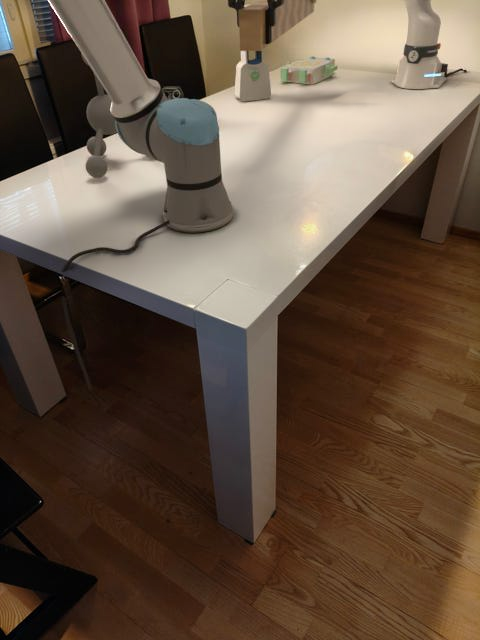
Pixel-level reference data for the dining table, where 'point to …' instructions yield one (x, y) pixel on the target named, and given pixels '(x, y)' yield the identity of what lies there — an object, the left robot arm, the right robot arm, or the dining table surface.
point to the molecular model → (99, 130)
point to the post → (254, 22)
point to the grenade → (173, 92)
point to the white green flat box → (308, 70)
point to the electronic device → (252, 77)
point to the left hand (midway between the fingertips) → (256, 42)
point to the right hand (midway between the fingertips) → (303, 3)
